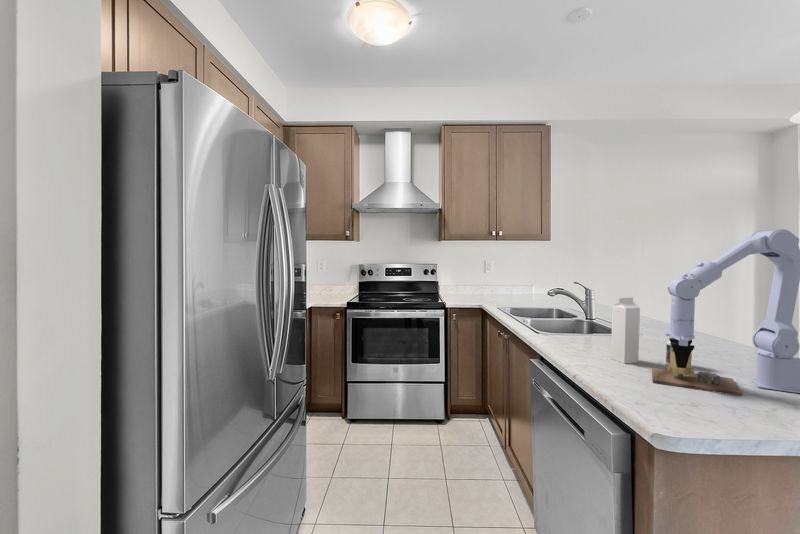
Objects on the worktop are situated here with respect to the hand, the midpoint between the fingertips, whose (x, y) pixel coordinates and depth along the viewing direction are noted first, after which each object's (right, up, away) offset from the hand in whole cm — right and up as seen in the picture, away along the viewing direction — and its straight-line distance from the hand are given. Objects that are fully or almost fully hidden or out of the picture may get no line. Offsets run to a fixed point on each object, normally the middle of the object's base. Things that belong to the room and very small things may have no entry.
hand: (680, 365), depth 119 cm
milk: (-5, -4, +21) cm, 22 cm away
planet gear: (0, -2, 0) cm, 2 cm away
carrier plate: (+3, -5, -1) cm, 5 cm away
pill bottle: (+9, -4, +16) cm, 19 cm away
